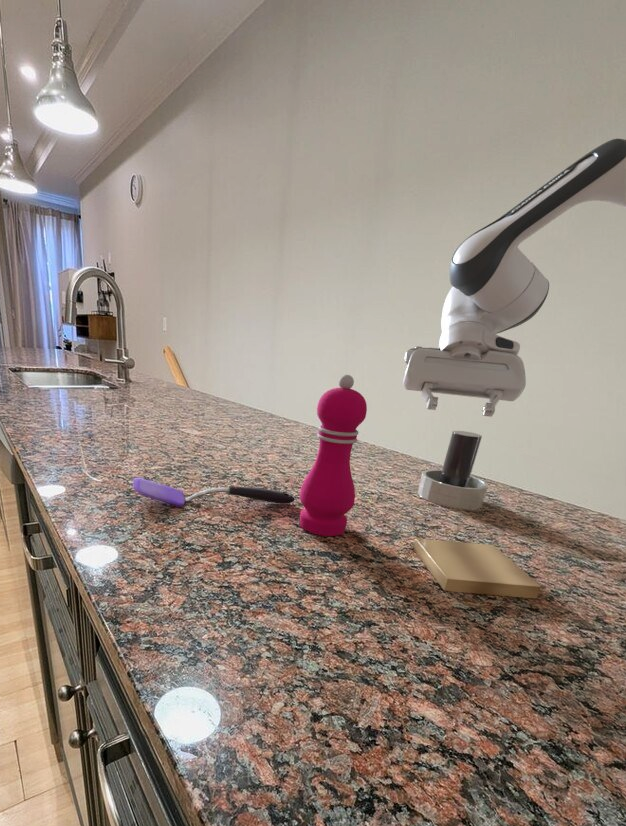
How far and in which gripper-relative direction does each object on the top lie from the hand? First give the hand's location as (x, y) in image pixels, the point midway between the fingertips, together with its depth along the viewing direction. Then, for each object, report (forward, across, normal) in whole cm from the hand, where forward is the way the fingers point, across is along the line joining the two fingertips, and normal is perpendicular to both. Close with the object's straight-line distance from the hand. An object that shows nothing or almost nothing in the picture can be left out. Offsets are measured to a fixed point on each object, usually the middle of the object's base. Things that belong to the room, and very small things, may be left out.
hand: (459, 411), depth 79 cm
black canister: (+16, 0, +3) cm, 16 cm away
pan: (+16, 0, +3) cm, 17 cm away
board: (+35, -2, -15) cm, 38 cm away
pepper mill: (+31, -20, -11) cm, 39 cm away
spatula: (+30, -36, -10) cm, 47 cm away
